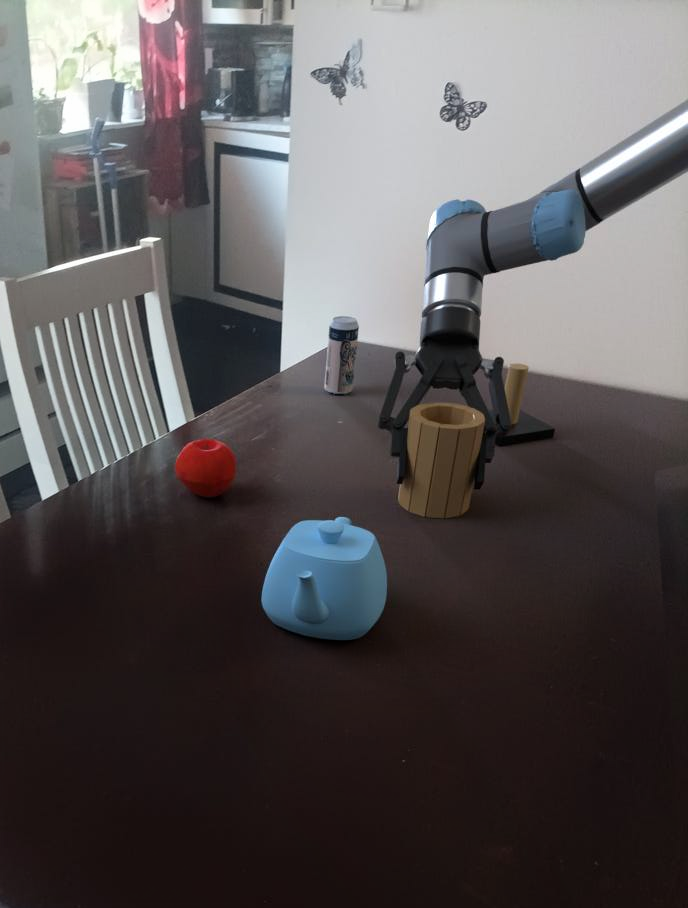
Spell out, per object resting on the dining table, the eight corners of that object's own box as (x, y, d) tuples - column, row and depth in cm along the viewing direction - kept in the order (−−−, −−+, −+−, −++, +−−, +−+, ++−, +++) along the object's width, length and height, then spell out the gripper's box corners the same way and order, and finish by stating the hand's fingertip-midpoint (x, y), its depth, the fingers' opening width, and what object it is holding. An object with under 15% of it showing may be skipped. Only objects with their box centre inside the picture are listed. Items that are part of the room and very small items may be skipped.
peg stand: (553, 437, 138) (568, 372, 132) (498, 446, 134) (512, 380, 129) (512, 415, 145) (525, 353, 139) (460, 423, 142) (470, 360, 136)
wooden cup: (482, 511, 116) (499, 422, 110) (422, 523, 114) (436, 432, 107) (442, 484, 123) (457, 398, 116) (385, 494, 120) (396, 407, 114)
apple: (168, 502, 118) (167, 449, 114) (185, 478, 124) (185, 427, 120) (227, 510, 116) (228, 456, 112) (242, 485, 122) (243, 433, 118)
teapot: (237, 559, 84) (292, 483, 98) (235, 653, 90) (287, 569, 104) (371, 585, 80) (408, 502, 94) (359, 681, 86) (395, 590, 100)
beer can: (345, 397, 151) (352, 324, 145) (319, 392, 153) (325, 320, 146) (356, 389, 155) (363, 318, 148) (330, 384, 157) (337, 314, 150)
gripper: (529, 338, 120) (521, 499, 116) (364, 330, 122) (350, 487, 118) (544, 307, 112) (536, 478, 108) (368, 299, 115) (354, 465, 111)
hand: (439, 482), depth 113 cm, fingers closed on wooden cup, 9 cm apart
